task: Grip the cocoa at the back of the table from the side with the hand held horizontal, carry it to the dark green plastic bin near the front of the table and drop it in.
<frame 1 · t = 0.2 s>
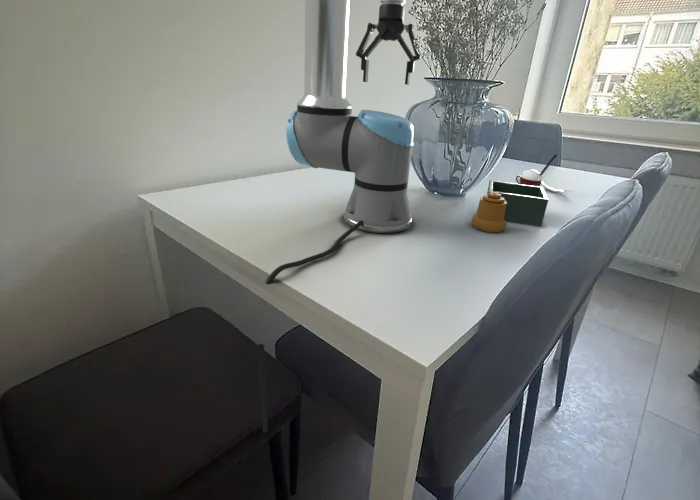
hand: (385, 83, 123), 28 cm above the table, tool pointing down, fingers open, 13 cm apart
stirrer: (544, 188, 126), on the table
bin: (510, 214, 99), on the table
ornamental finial: (487, 228, 89), on the table
cocoa: (529, 190, 122), on the table
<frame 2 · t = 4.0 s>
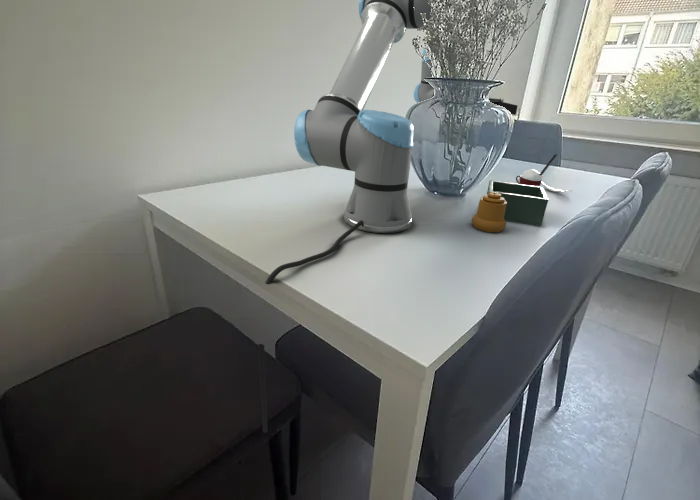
hand: (501, 114, 118), 21 cm above the table, tool horizontal, fingers open, 13 cm apart
nothing on the table moved.
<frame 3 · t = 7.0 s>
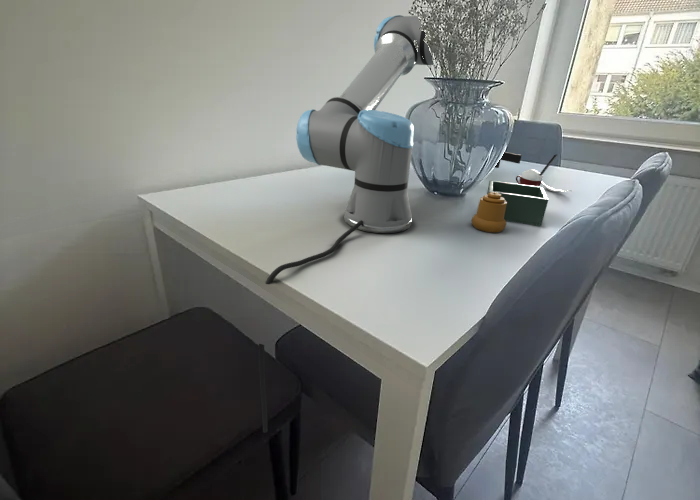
hand: (510, 161, 125), 7 cm above the table, tool horizontal, fingers open, 13 cm apart
nothing on the table moved.
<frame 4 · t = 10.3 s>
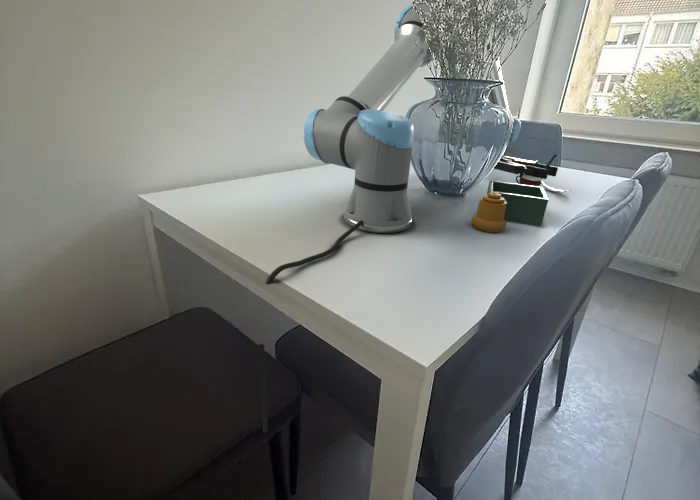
hand: (551, 173, 116), 7 cm above the table, tool horizontal, fingers closed on cocoa, 6 cm apart
cocoa: (529, 190, 122), on the table, touching gripper
everything else where it was.
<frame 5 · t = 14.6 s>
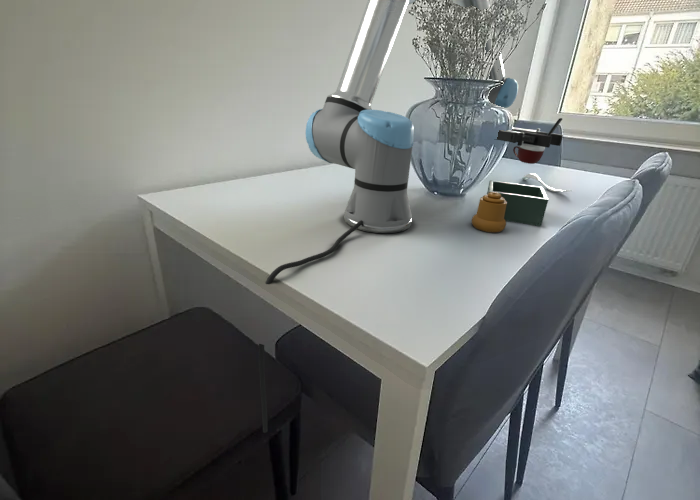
hand: (555, 141, 98), 18 cm above the table, tool horizontal, fingers closed on cocoa, 6 cm apart
cocoa: (529, 163, 104), point 11 cm above the table, touching gripper
everything else where it was.
when the fingers open (9 cm above the table, at t = 19.0 s): cocoa drops 2 cm, resting on bin.
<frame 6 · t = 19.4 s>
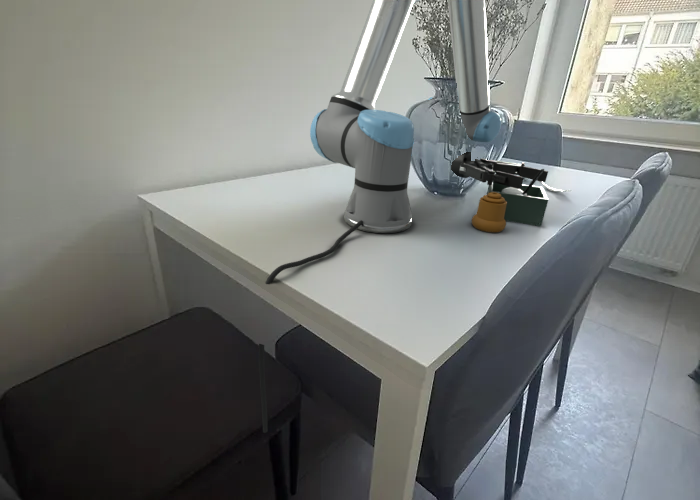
hand: (534, 179, 92), 10 cm above the table, tool horizontal, fingers open, 12 cm apart
cocoa: (510, 212, 99), resting on bin
everything else where it was.
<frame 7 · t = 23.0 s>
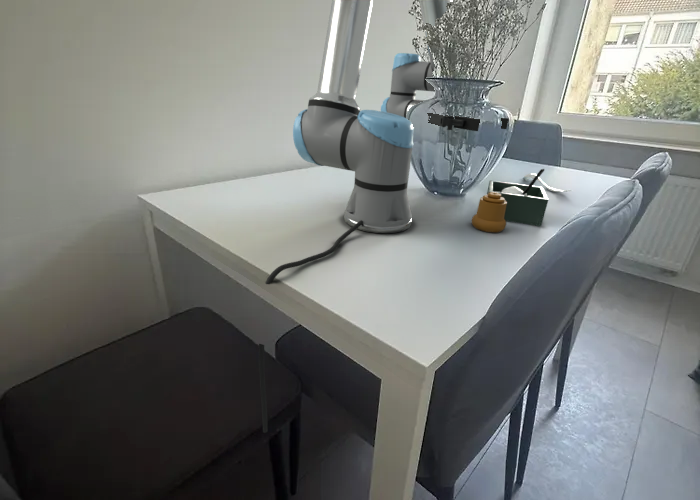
hand: (493, 124, 97), 21 cm above the table, tool horizontal, fingers open, 13 cm apart
nothing on the table moved.
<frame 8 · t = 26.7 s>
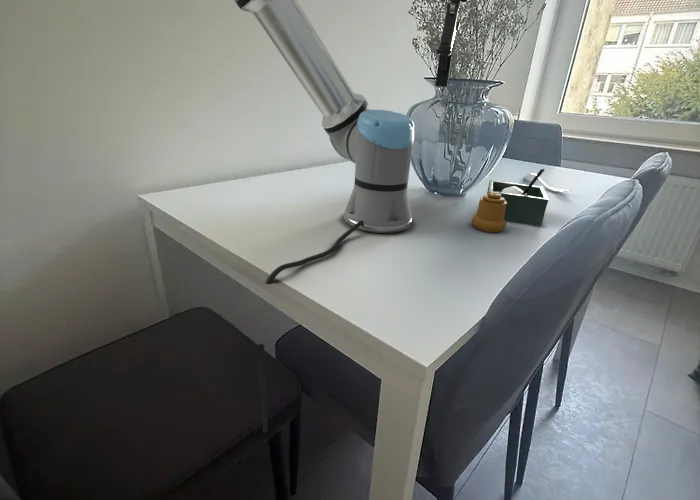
hand: (444, 86, 96), 29 cm above the table, tool pointing down, fingers open, 13 cm apart
nothing on the table moved.
at the end: cocoa inside the target area in the bin (0.1 cm from its centre), point 0.4 cm above the bin's base; the gripper is holding nothing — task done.
